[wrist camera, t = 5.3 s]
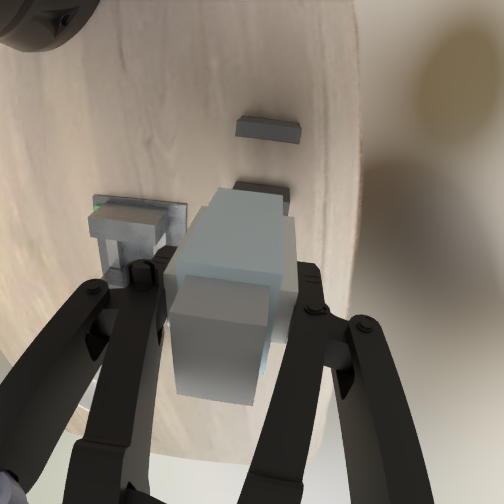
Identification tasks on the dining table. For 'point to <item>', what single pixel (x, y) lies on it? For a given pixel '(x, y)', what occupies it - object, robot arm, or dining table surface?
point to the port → (133, 231)
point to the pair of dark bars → (268, 131)
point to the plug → (227, 296)
